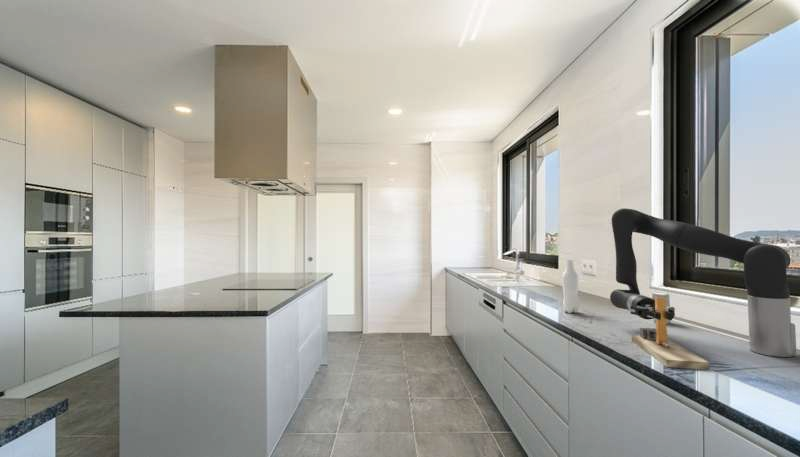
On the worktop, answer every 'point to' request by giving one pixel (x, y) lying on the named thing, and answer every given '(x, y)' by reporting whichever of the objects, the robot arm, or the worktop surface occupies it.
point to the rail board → (671, 354)
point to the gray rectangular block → (644, 333)
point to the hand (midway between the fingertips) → (665, 316)
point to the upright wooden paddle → (660, 323)
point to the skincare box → (666, 302)
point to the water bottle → (570, 288)
